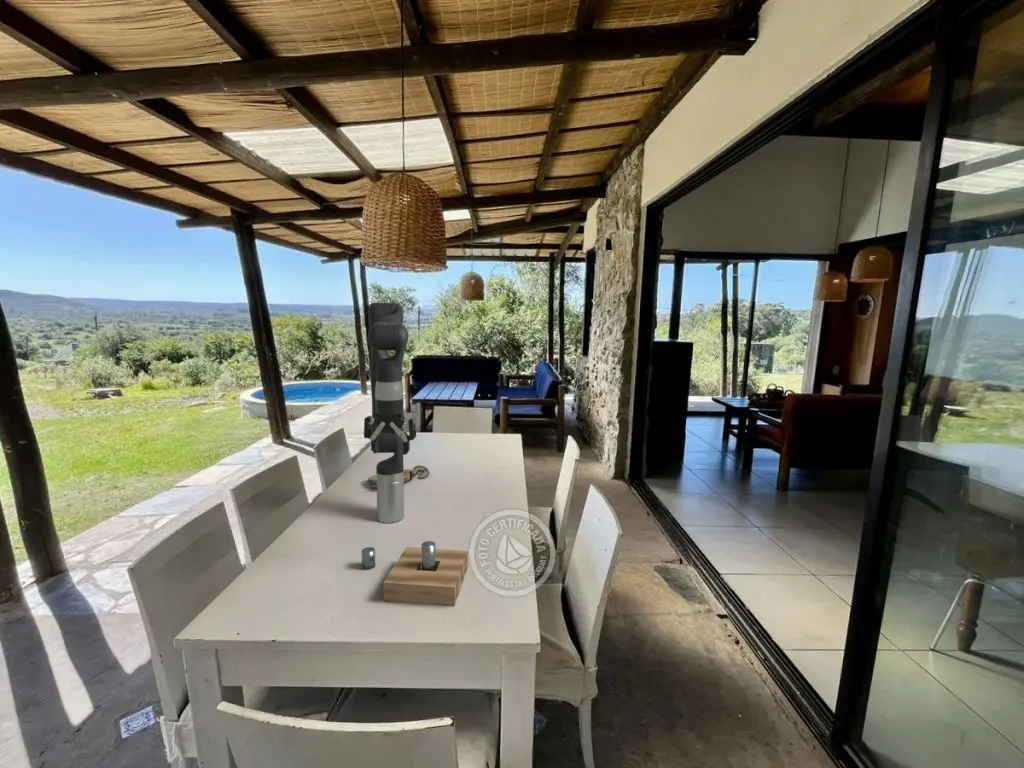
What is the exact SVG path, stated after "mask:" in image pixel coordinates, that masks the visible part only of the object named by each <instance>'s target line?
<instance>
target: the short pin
mask: <svg viewBox="0 0 1024 768" xmlns="http://www.w3.org/2000/svg"><path fill="white" fill-rule="evenodd" d="M374 567H375V568H376V549H375V548H374V547H373V546H368V547H364V548H363V549H362V550H361V568H362V570H363V569H364V571H370V570H369V569H371V570H373V569H375V568H374ZM372 568H373V569H372Z"/></svg>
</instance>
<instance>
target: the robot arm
mask: <svg viewBox="0 0 1024 768" xmlns="http://www.w3.org/2000/svg"><path fill="white" fill-rule="evenodd" d="M403 324H404V311H403V308H402V306H401V305H400V304H399V303H394V302H372V303H370V304H369V306H368V326H369V329H368V332H367V342H368V344H369V346H370V388H371V389H370V390H371V415H367V416H366V417H365V418H364V420H363V421H364V426H363V438H365V439H369V440H370V448H371V449H370V450H371V452H373V453H372V454H379V453H380V454H387V453H388V454H389V453H391V454H392V453H393V455H391V456H390V457H389V458H386V459H383V460H381V461H379V462H378V463H377V464H376V466H375V467H376V468H375V471H376V474H375V475H376V479H377V488H376V506H377V507H376V510H377V511H376V513H377V515H376V517H377V521H378V522H380V523H383V522H384V524H392V522H393V523H397V521H398V522H400V521H402V520H403V519H404V518H405V497H404V496H405V483H404V472H403V470H405V468H404V456H407V455H408V453H409V452H410V450H411V443H410V442H411V441H414V439H416V438H417V426H416V418H415V417H412V416H411V417H410V418H405V415H404V413H405V412H404V411H405V410H404V409H405V407H404V403H405V402H404V384H403V363H404V362H403V361H404V356H405V353H406V352H405V351H406V349H407V346H408V342H409V338H410V337H409V330H408V329H407V327H406V326H405V325H403ZM388 351H395V352H394V354H393V355H392V356H391V354H390V353H389V352H388ZM405 424H406V426H407V427H408V432H407V430H406V428H405V427H404V425H405Z"/></svg>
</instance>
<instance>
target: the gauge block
mask: <svg viewBox="0 0 1024 768" xmlns="http://www.w3.org/2000/svg"><path fill="white" fill-rule="evenodd" d="M468 564H469V550H463V549H462V550H461V549H460V550H459V549H445V548H444V549H443V548H435V571H422V547H414V546H413V547H412V546H411V547H410V546H409V547H408V546H406V547H404V550H403V551H402V553H401V555H400V556H399V557H398V559H397V561H396V562H395V564H394V565H393V567H392V568H391V570H390V571H389V573H388V575H387V576H386V578H385V579H384V580H383V583H382V584H383V602H389V601H393V602H392V603H403V602H405V603H406V604H416V605H417V604H418V605H419V604H420V605H430V606H431V605H432V606H433V605H434V606H447V607H455V606H456V603H457V600H458V598H459V594H460V591H461V588H462V586H463V583H464V580H465V577H466V573H467V571H468V568H469V565H468Z"/></svg>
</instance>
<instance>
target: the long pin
mask: <svg viewBox="0 0 1024 768" xmlns="http://www.w3.org/2000/svg"><path fill="white" fill-rule="evenodd" d="M421 548H422V571H435V549H436V542H435V541H431V540H428V541H424V542H422V543H421Z"/></svg>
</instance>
